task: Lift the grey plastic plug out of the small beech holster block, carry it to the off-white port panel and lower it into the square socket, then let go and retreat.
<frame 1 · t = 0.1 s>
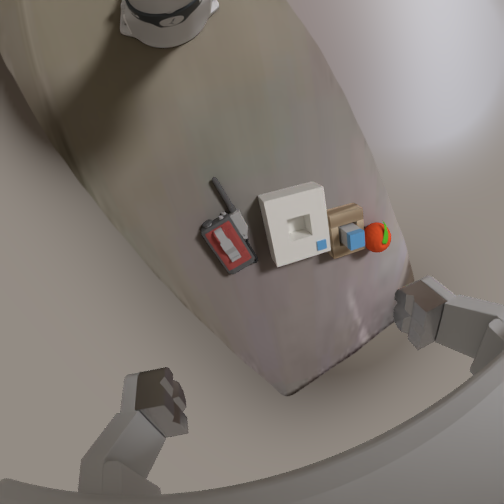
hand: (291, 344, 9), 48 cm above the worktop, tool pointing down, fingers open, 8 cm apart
clementine: (368, 229, 66), on the worktop
port: (291, 219, 60), on the worktop
plug: (342, 228, 63), point 1 cm above the worktop, touching holster
walkie-talkie: (223, 226, 58), on the worktop
holster: (340, 227, 63), on the worktop
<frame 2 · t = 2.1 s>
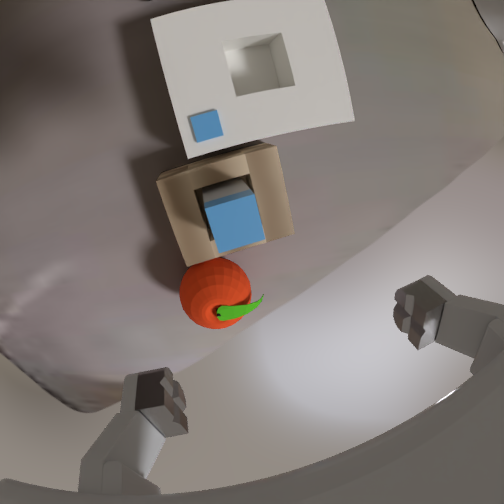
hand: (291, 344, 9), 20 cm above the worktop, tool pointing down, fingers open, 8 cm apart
clementine: (217, 273, 31), on the worktop
port: (247, 73, 22), on the worktop
plug: (225, 198, 26), point 1 cm above the worktop, touching holster
holster: (224, 196, 27), on the worktop
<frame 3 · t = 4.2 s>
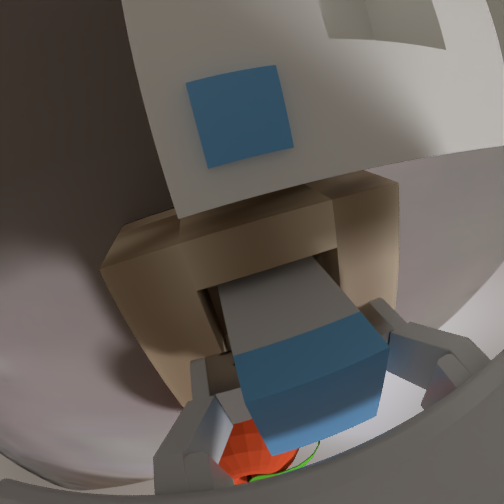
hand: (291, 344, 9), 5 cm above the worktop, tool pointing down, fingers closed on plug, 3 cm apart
clementine: (237, 385, 17), on the worktop
port: (312, 18, 9), on the worktop
plug: (261, 282, 13), point 1 cm above the worktop, touching gripper, holster
holster: (256, 271, 14), on the worktop
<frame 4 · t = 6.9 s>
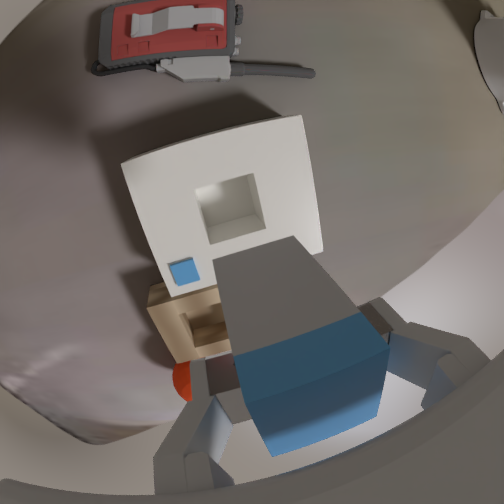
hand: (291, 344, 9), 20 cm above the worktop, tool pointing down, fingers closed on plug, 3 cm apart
clementine: (203, 356, 35), on the worktop
port: (223, 194, 27), on the worktop
plug: (261, 282, 13), point 16 cm above the worktop, touching gripper
walkie-talkie: (203, 41, 20), on the worktop
holster: (206, 303, 31), on the worktop
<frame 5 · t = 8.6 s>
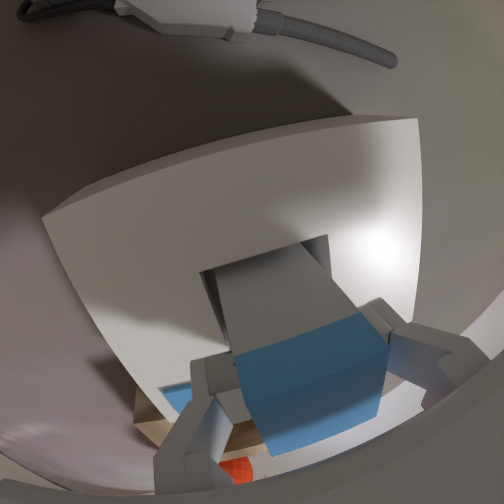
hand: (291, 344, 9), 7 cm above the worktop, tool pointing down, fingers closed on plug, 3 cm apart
clementine: (215, 441, 24), on the worktop
port: (251, 251, 15), on the worktop
plug: (261, 282, 13), point 3 cm above the worktop, touching gripper
holster: (220, 395, 20), on the worktop
when the fingers open (6 cm above the worktop, at t = 9.9 s): plug stays where it is, resting on port.
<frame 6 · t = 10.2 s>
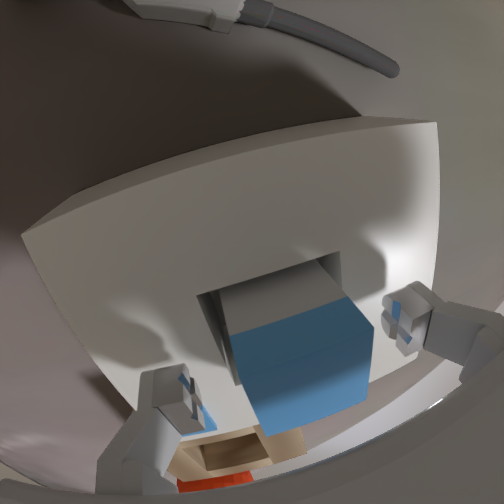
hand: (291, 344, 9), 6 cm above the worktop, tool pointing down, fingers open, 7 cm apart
clementine: (215, 453, 22), on the worktop
port: (252, 264, 14), on the worktop
plug: (258, 273, 13), point 1 cm above the worktop, touching port
holster: (220, 409, 19), on the worktop
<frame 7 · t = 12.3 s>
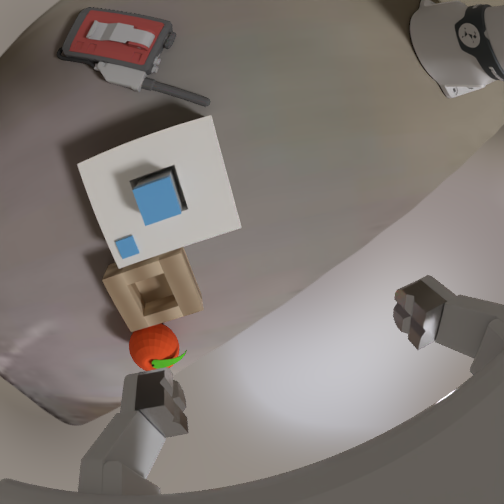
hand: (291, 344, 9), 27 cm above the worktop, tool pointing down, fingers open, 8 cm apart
clementine: (158, 330, 39), on the worktop
port: (161, 185, 31), on the worktop
plug: (161, 187, 30), point 1 cm above the worktop, touching port
walkie-talkie: (139, 55, 25), on the worktop
holster: (154, 279, 36), on the worktop
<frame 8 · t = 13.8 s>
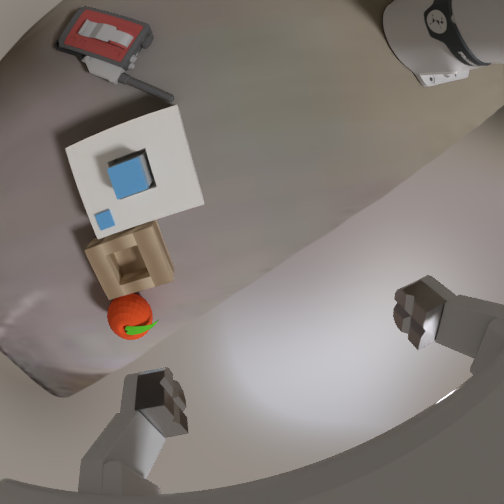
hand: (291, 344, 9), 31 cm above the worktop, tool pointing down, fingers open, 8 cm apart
clementine: (136, 302, 42), on the worktop
port: (139, 168, 34), on the worktop
plug: (138, 169, 33), point 1 cm above the worktop, touching port
walkie-talkie: (122, 52, 27), on the worktop
holster: (132, 253, 39), on the worktop
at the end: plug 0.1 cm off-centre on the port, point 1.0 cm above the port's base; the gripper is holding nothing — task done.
